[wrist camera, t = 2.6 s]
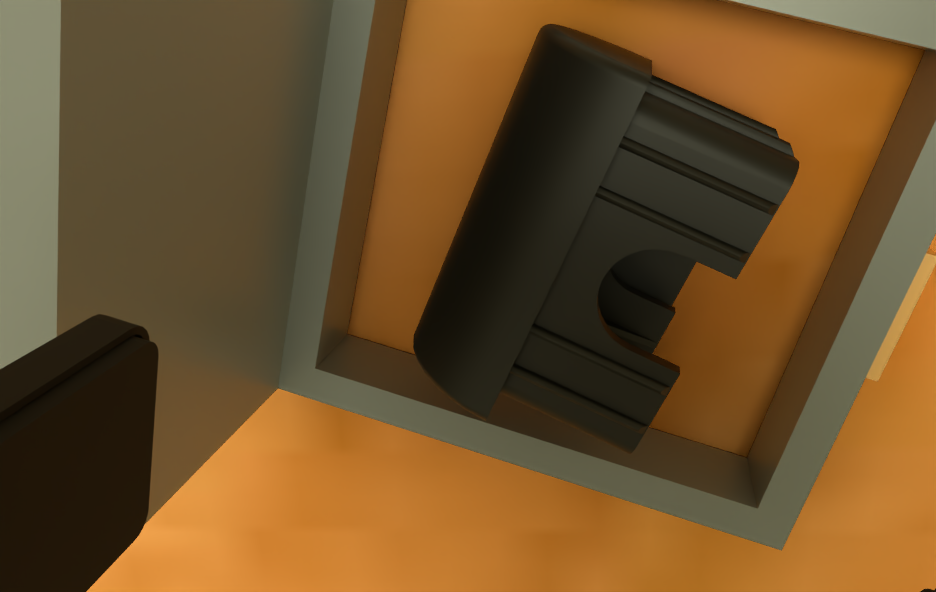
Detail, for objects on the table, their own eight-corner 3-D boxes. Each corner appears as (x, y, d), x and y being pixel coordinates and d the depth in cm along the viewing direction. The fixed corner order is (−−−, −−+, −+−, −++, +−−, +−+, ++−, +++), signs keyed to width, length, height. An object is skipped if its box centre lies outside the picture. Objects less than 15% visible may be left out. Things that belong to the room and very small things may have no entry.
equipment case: (1013, 21, 21) (1575, 45, 8) (785, 501, 27) (902, 937, 15) (351, -133, 23) (-15, -299, 11) (283, 343, 30) (4, 599, 17)
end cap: (559, 18, 24) (526, 22, 17) (775, 113, 23) (820, 151, 17) (443, 294, 28) (383, 377, 21) (625, 379, 27) (618, 488, 21)
